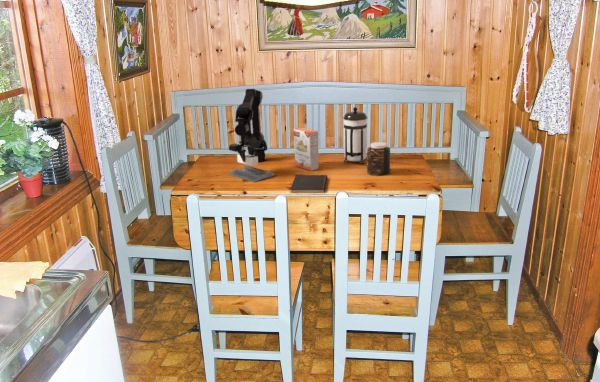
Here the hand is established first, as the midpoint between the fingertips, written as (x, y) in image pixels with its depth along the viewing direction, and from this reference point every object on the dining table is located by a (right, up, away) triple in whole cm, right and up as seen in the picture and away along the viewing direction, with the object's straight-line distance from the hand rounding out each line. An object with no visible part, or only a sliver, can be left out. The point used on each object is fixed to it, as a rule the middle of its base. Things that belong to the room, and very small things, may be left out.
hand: (247, 161), depth 290 cm
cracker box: (+31, -3, +10) cm, 33 cm away
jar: (+67, -6, -3) cm, 68 cm away
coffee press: (+58, 0, +18) cm, 60 cm away
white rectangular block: (0, -1, 0) cm, 1 cm away
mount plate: (+2, -7, 0) cm, 8 cm away
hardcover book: (+32, -13, -19) cm, 39 cm away
